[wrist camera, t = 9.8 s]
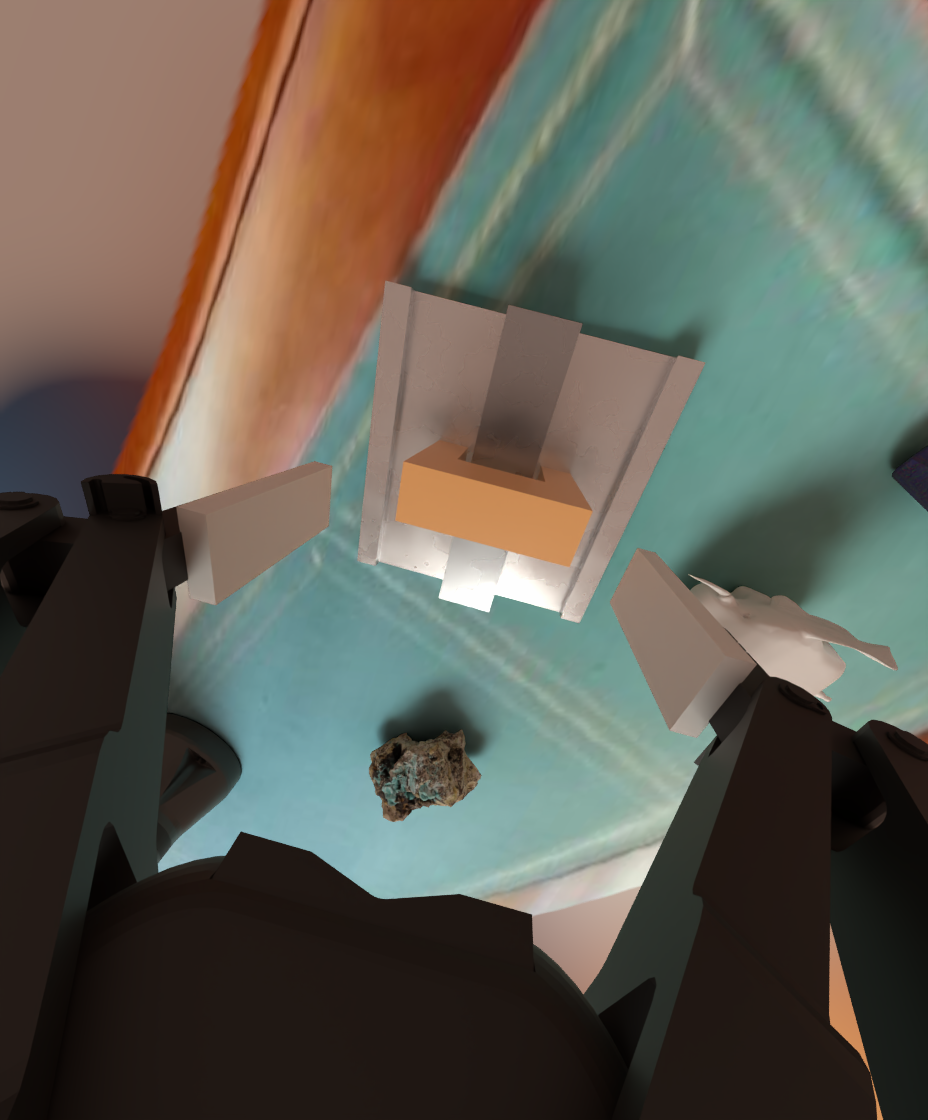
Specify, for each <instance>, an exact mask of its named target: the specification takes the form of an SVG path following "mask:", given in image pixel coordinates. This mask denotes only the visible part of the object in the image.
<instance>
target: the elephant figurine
mask: <svg viewBox="0 0 928 1120" xmlns="http://www.w3.org/2000/svg"><path fill="white" fill-rule="evenodd" d="M688 575H689V574H688ZM690 576H691V577H693V578H695V579H697V580H699V581H701V582H703V583H700V584H698V585H696V586H694V587H693V588H692V589H691V590H690V591H691V592H692V593H693V595H694V596H695V597H696V598H697V599H698V600H699V601H700V602H701V603H702V605H703V606H704V607H705V608H706V609H707V610H708V611H709V612H710V613H711V614H712V616H713V617H714V618H715V619H716V620H717V621H718V622H719V623H720V624H721V625H722V627H724V628H725V629H726V630H728V631H729V632H730V633H731V635H732V636H733V637H734V638H735V639H736V640H737V641H738V643H739V644H741V645H742V647H743V648H744V649H745V650H746V652H747V653H749V654H750V655H751V656H752V657H753V659H754V660H755V661H756V662H757V663H758V664H759V665H760V666H761V667H762V668H763V670H764V671H765V672H766V673H767V674H768V675H769V676H770V677H778V678H781V679H784V680H787V681H789V682H791V683H793V684H795V685H797V686H799V687H801V688H803V689H805V690H806V691H808V692H809V693H810V694H812V695H813V696H816V697H819V698H822V699H824V700H825V701H827V702H830V701H831V699H832V698H830V697H828V696H826V695H825V694H824V693H823V692H822V690H823V689H825V688H826V687H828V686H829V685H830V684H832V683H833V682H834V681H836V680H837V679H838V678H839V677H840V676H841V675H842V674H843V672H844V670H845V667H846V664H845V662H844V661H843V660H842V659H841V657H840V656H839V655H838V654H837V652H836V651H835V650H834V649H833V648H832V646H831V645H830V644H829V643H828V642H831V643H835V644H839V645H843V646H847V647H850V648H853V649H856V650H857V651H859V652H861V653H863V654H864V655H866V656H868V657H870V658H871V659H873V660H875V661H877V662H879V663H881V664H882V665H884V666H886V667H888V668H890V669H893V670H898V667H897V665H896V662H895V660H894V658H893V656H892V654H891V652H890V648H889V647H888V646H883V645H876V644H870V643H866V642H862V641H859V640H857V639H856V638H855V637H854V636H853V635H851V634H850V633H849V632H848V631H847V630H846V629H844V628H842V627H841V626H839V625H837V624H835V623H832V622H830V621H828V620H825V619H822V618H819V617H816V616H813V615H809V614H808V613H806V612H805V611H804V610H802V609H801V608H800V607H799V606H798V605H797V604H796V603H795V602H794V601H792V600H790V599H789V598H787V597H786V596H783V595H778V596H773V597H772V598H770V597H768V596H767V595H764V594H762V593H760V592H758V591H755V590H753V589H751V588H748V587H745V586H740V587H737V588H736V589H735V590H734V591H733V592H731V593H729V592H728V591H726V590H724V589H722V588H721V587H719V586H717V585H715V584H713V583H711V582H709V581H707V580H704V579H701V578H698V577H695V576H692V575H690Z"/></svg>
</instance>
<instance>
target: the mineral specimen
mask: <svg viewBox="0 0 928 1120" xmlns="http://www.w3.org/2000/svg"><path fill="white" fill-rule="evenodd" d="M465 745H466V743H465V736H464V733H463V731H462V729H461V730H459V731H458V732H456V733H455V734H453V733H449V732H447V731H446V730H445V731H444V732H443V733H442V734H441V735H440V736H438V737H436V738H435V739H428V740H427V741H426V742H424V741H420V742H417V741H412V739H411V738H410V737H409V736H407V733H404V734H401V735H399V736H398V737H397V738H392V739H391V740H389V741H388V742H387V743H385V744H384V745H383V746H381V747H379V748H378V749H376V750H374V751H372V753H371V754H370V757H371V761H372V763H371V765H370V767H369V774H370V777H371V780H372V781H373V783H374V787H375V793H376V795H378V796H380V798H381V799H382V808H383V818H385V819H387V820H389V821H392V822H395V821H403V820H404V819H405V818H406V817H407V816H408V815H409V814H410V813H411V811H412V810H414V809H417V808H421V807H422V806H426V807H429V806H430V805H440V806H447V805H448V806H450V807H452V806H453V805H454V804H455V803H456V802H458V801H460V800H463V799H464V797H465V796H466V795H467V794H468V793H469V792H470V791H472V790H473V789H474V788H475V787H476V786H477V784H478V783H477V781H478V780H479V779H480V778H481V776H482V775H481V774H480V773H479V771H478V769H477V768H476V767H475V765H474V764H473V763H472V761H471V760H470V759H469V758H468V757H467V755H466V753H465V751H464V748H465Z"/></svg>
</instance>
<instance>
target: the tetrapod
mask: <svg viewBox="0 0 928 1120" xmlns="http://www.w3.org/2000/svg"><path fill="white" fill-rule="evenodd" d="M892 477H893V478H894V479H895V480H896V481H897V482H898V483H899V484H900V485H901V486H902V487H903V488H904V489H905V490H906V491H907V492H908V493H909V494H910V495H911V496H912V497H913V498H914V499H915V500H916V501H918V502H919V503H920V504H921V505H922V506H923V507H924V508H925V509H926V510H927V511H928V446H926V447H925V448H924V449H922V450H921V451H919V452H918V453H916V454H915V455H914V456H912V457H911V458H909V459H908V460H907V461H906V462H904V463H903V464H902V465H900V466H899V467H898V468H897V469H895V471H894V472H893V473H892Z"/></svg>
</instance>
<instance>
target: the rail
mask: <svg viewBox="0 0 928 1120" xmlns="http://www.w3.org/2000/svg"><path fill="white" fill-rule="evenodd" d="M581 327H582V323H578V322H574V321H570V320H566V319H563V318H559V317H555V316H551V315H547V314H543V313H539V312H535V311H531V310H527V309H523V308H519V307H516V306H512V305H508V309H507V313H506V314H503V313H499V312H495V311H491V310H487V309H483V308H480V307H476V306H472V305H468V304H464V303H460V302H456V301H452V300H448V299H444V298H441V297H437V296H433V295H429V294H425V293H421V292H417V291H415V290H414V289H413V288H412V287H408V286H404V285H400V284H397V283H393V282H389V281H385V290H384V300H383V310H382V320H381V330H380V340H379V350H378V360H377V370H376V380H375V390H374V400H373V410H372V420H371V430H370V440H369V450H368V460H367V470H366V480H365V490H364V500H363V510H362V520H361V530H360V540H359V550H358V560H357V561H360V562H364V563H367V564H371V565H374V566H376V565H377V564H378V562H379V561H380V562H383V563H387V564H390V565H394V566H397V567H401V568H405V569H408V570H412V571H415V572H419V573H422V574H426V575H429V576H433V577H437V578H440V579H443V582H442V586H441V590H440V595H439V598H441V599H444V600H448V601H451V602H455V603H459V604H462V605H466V606H469V607H473V608H476V609H480V610H483V611H487V612H489V609H490V606H491V603H492V600H493V597H494V594H497V595H501V596H504V597H508V598H511V599H515V600H518V601H522V602H526V603H529V604H533V605H536V606H540V607H543V608H547V609H550V610H554V611H558V612H559V613H560V618H563V619H566V620H570V621H573V622H577V623H580V620H581V618H582V616H583V614H584V612H585V610H586V608H587V606H588V604H589V602H590V600H591V598H592V596H593V594H594V592H595V590H596V587H597V585H598V583H599V581H600V579H601V577H602V575H603V573H604V571H605V569H606V567H607V565H608V563H609V561H610V559H611V557H612V555H613V552H614V550H615V548H616V546H617V544H618V542H619V540H620V538H621V536H622V534H623V532H624V530H625V528H626V526H627V524H628V522H629V519H630V517H631V515H632V513H633V511H634V509H635V507H636V505H637V503H638V501H639V499H640V497H641V495H642V493H643V491H644V489H645V487H646V484H647V482H648V480H649V478H650V476H651V474H652V472H653V470H654V468H655V466H656V464H657V462H658V460H659V458H660V456H661V454H662V452H663V449H664V447H665V445H666V443H667V441H668V439H669V437H670V435H671V433H672V431H673V429H674V427H675V425H676V423H677V421H678V419H679V416H680V414H681V412H682V410H683V408H684V406H685V404H686V402H687V400H688V398H689V396H690V394H691V392H692V390H693V388H694V386H695V384H696V381H697V379H698V377H699V375H700V373H701V371H702V369H703V367H704V365H705V362H701V361H697V360H693V359H690V358H686V357H682V356H674V357H671V356H667V355H663V354H659V353H655V352H651V351H647V350H643V349H640V348H636V347H632V346H628V345H624V344H620V343H616V342H612V341H608V340H604V339H601V338H597V337H593V336H589V335H585V334H581V333H580V330H581ZM439 440H441V441H445V442H449V443H453V444H457V445H461V446H465V447H468V452H467V456H466V462H470V463H474V464H478V465H481V466H485V467H489V468H493V469H497V470H501V471H504V472H508V473H512V474H516V475H520V476H524V477H527V478H531V479H535V480H537V478H538V475H539V472H540V469H541V466H542V467H546V468H549V469H553V470H557V471H561V472H565V473H569V474H571V475H572V477H573V479H574V480H575V482H576V484H577V485H578V487H579V489H580V490H581V492H582V494H583V495H584V497H585V499H586V501H587V502H588V504H589V506H590V507H591V509H592V511H593V512H592V514H591V517H590V519H589V522H588V524H587V526H586V529H585V531H584V534H583V536H582V538H581V541H580V543H579V546H578V548H577V550H576V553H575V555H574V558H573V560H572V562H571V565H570V567H566V566H562V565H559V564H555V563H551V562H548V561H544V560H540V559H536V558H533V557H529V556H525V555H521V554H518V553H514V552H510V551H507V550H503V549H499V548H495V547H492V546H488V545H484V544H480V543H477V542H473V541H469V540H466V539H462V538H458V537H454V536H451V535H447V534H443V533H439V532H436V531H432V530H428V529H425V528H421V527H417V526H413V525H410V524H406V523H402V522H399V521H395V518H396V511H397V504H398V497H399V490H400V483H401V475H402V468H403V461H405V460H407V459H408V458H410V457H412V456H414V455H415V454H417V453H419V452H420V451H422V450H424V449H425V448H427V447H429V446H430V445H432V444H434V443H435V442H437V441H439Z"/></svg>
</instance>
